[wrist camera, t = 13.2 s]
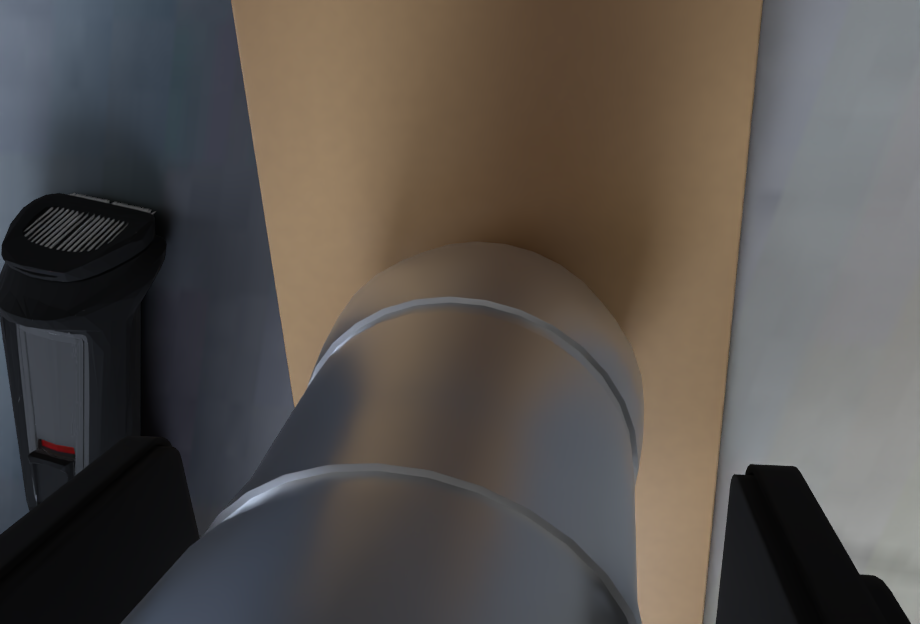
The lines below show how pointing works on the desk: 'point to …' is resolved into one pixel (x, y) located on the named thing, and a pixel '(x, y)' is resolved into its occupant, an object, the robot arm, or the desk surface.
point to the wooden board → (526, 190)
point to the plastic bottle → (440, 463)
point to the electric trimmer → (74, 330)
